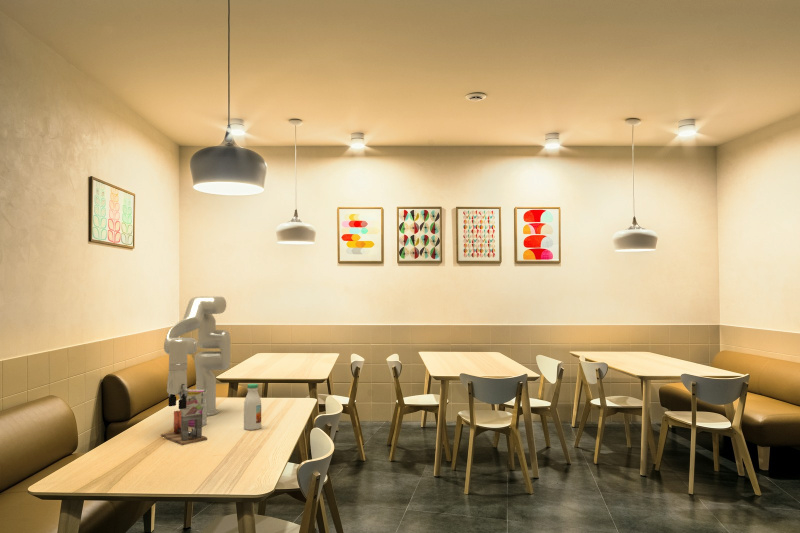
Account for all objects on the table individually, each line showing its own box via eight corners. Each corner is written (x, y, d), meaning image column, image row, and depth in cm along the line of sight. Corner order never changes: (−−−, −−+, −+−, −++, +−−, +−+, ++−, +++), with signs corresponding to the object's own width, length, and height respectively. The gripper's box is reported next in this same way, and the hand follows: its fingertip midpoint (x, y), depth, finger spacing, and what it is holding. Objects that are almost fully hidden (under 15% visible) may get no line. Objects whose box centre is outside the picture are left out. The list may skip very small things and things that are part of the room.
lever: (172, 432, 241) (172, 411, 242) (179, 431, 243) (179, 410, 244) (191, 439, 229) (191, 417, 230) (198, 438, 231) (198, 416, 232)
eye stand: (160, 436, 240) (161, 411, 240) (185, 431, 248) (185, 407, 248) (181, 445, 226) (182, 418, 227) (207, 439, 234) (207, 413, 235)
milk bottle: (250, 431, 248) (251, 386, 249) (240, 428, 253) (240, 384, 253) (264, 427, 254) (265, 383, 255) (254, 425, 259) (254, 382, 260)
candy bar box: (179, 426, 257) (179, 390, 258) (184, 424, 262) (184, 389, 263) (202, 427, 256) (202, 391, 257) (207, 424, 261) (207, 389, 262)
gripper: (160, 366, 245) (160, 406, 244) (178, 369, 234) (177, 411, 233) (177, 365, 251) (176, 403, 250) (195, 368, 239) (194, 408, 238)
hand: (177, 407), depth 241 cm, fingers open, 9 cm apart
